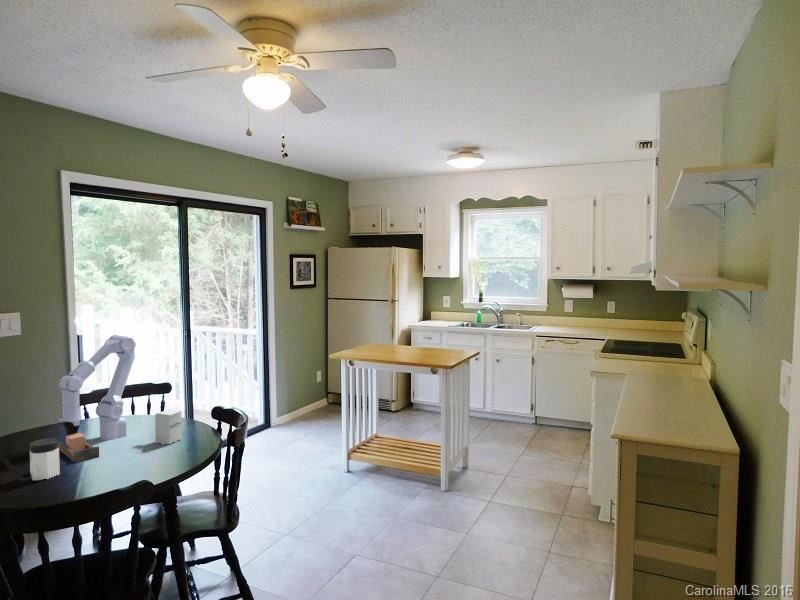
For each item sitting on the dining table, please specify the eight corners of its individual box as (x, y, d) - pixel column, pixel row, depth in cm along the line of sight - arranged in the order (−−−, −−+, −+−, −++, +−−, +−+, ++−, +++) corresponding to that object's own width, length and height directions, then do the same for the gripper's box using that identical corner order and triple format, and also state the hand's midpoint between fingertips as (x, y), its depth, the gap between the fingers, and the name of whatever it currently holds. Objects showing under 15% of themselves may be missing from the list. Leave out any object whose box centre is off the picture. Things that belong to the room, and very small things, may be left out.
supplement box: (169, 445, 211) (168, 415, 210) (155, 443, 213) (154, 413, 213) (182, 439, 218) (181, 410, 217) (168, 437, 220) (167, 408, 220)
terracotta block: (80, 447, 204) (80, 432, 204) (85, 451, 200) (85, 436, 200) (66, 450, 201) (65, 435, 200) (70, 454, 197) (70, 439, 196)
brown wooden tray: (86, 444, 211) (85, 432, 210) (105, 458, 196) (104, 445, 196) (51, 452, 202) (51, 439, 201) (68, 467, 187) (68, 453, 187)
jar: (24, 481, 174) (23, 446, 173) (35, 472, 182) (34, 439, 181) (54, 479, 176) (53, 444, 175) (64, 470, 184) (63, 437, 183)
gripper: (54, 404, 204) (54, 438, 205) (64, 411, 195) (65, 446, 195) (74, 401, 210) (75, 434, 210) (85, 408, 200) (86, 442, 201)
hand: (72, 440), depth 203 cm, fingers closed
